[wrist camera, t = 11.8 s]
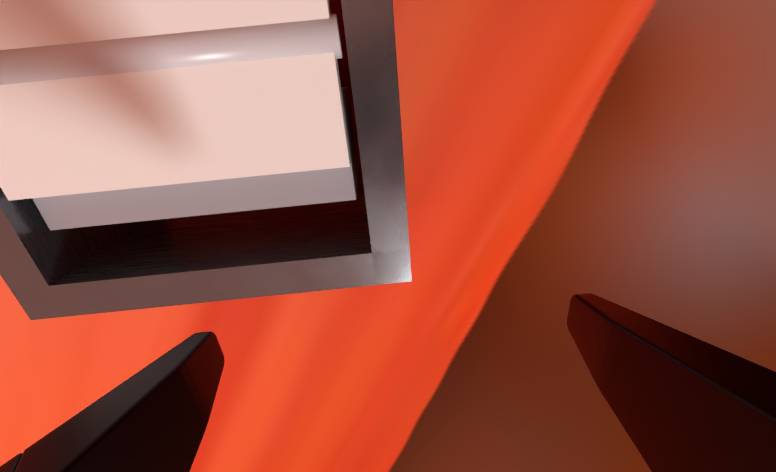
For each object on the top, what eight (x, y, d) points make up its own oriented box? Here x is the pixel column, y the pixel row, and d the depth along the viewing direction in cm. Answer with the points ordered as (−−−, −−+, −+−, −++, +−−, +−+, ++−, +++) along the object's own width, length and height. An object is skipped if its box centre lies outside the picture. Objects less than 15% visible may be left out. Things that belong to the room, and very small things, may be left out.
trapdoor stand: (371, -105, 15) (372, -279, 8) (397, 213, 21) (411, 281, 14) (11, -71, 15) (-329, -213, 8) (146, 238, 21) (30, 320, 14)
